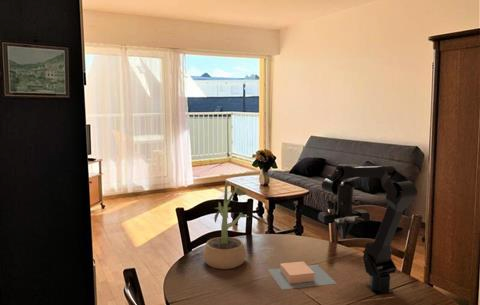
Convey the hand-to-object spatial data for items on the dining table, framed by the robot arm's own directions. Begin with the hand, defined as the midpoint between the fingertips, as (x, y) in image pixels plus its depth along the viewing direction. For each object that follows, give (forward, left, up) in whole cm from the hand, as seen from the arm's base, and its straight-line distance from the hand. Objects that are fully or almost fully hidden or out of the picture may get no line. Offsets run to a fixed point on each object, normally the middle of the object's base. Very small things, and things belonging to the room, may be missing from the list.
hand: (343, 238), depth 146 cm
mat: (-3, +18, -12) cm, 22 cm away
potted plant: (+19, +41, -12) cm, 46 cm away
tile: (-3, +15, -10) cm, 18 cm away
